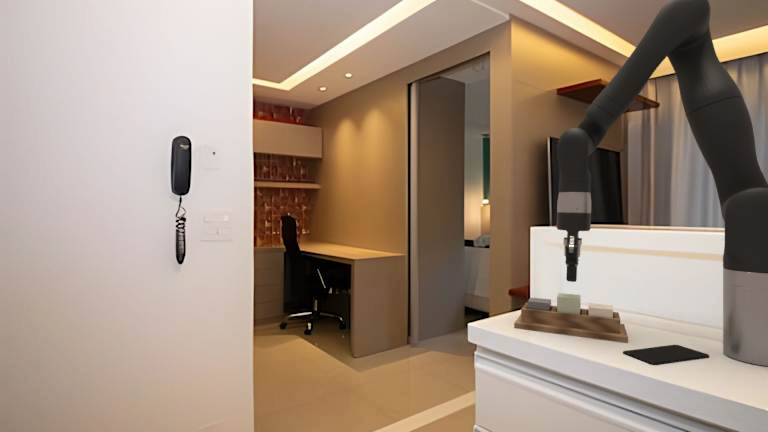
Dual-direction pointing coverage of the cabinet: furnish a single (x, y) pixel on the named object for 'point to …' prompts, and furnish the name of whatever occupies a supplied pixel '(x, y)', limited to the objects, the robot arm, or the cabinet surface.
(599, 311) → the beige cube
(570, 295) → the key sage
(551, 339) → the cabinet surface
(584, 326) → the wooden tray
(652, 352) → the smartphone
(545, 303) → the key charcoal
